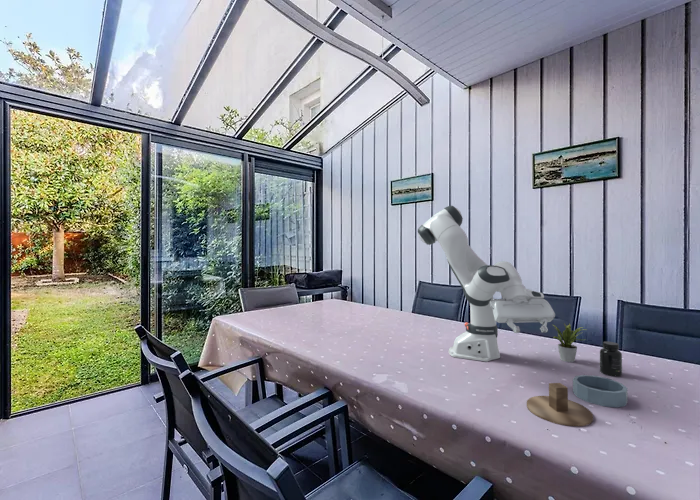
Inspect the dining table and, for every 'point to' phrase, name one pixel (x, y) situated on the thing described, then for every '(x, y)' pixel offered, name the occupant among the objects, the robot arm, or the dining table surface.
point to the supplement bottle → (611, 359)
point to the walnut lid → (559, 407)
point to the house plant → (567, 343)
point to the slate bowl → (600, 391)
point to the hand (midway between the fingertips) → (531, 331)
